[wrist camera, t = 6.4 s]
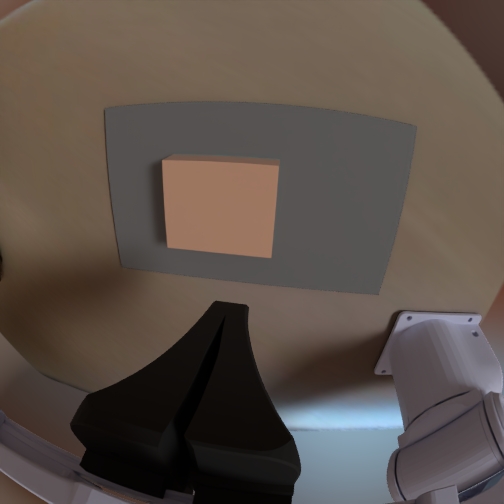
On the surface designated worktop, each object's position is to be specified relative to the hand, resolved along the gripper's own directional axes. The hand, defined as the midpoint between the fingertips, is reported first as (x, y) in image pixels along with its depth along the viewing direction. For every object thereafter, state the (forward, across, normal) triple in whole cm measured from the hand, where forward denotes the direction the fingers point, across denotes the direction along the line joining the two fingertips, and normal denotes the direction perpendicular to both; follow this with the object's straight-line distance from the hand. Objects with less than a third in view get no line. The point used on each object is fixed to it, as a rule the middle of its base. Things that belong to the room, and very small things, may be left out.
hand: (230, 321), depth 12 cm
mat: (+10, +1, -2) cm, 10 cm away
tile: (+9, -1, -2) cm, 9 cm away
